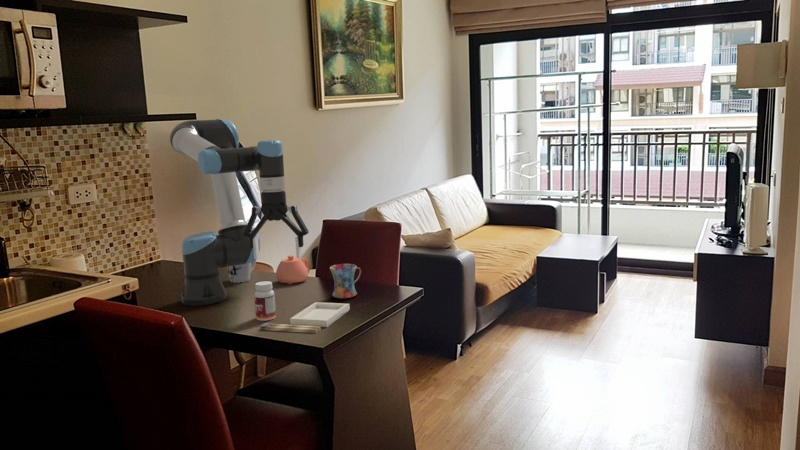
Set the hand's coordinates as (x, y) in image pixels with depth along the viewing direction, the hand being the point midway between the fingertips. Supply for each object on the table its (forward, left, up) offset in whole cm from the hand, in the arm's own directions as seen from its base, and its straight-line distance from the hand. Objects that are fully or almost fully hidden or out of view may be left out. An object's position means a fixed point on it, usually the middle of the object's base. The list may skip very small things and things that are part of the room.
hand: (277, 257), depth 204 cm
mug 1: (-38, +41, -18) cm, 59 cm away
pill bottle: (-3, -5, -18) cm, 19 cm away
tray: (+14, -1, -18) cm, 23 cm away
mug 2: (+13, +24, -18) cm, 33 cm away
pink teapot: (-16, +41, -18) cm, 48 cm away
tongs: (+10, -14, -18) cm, 25 cm away
